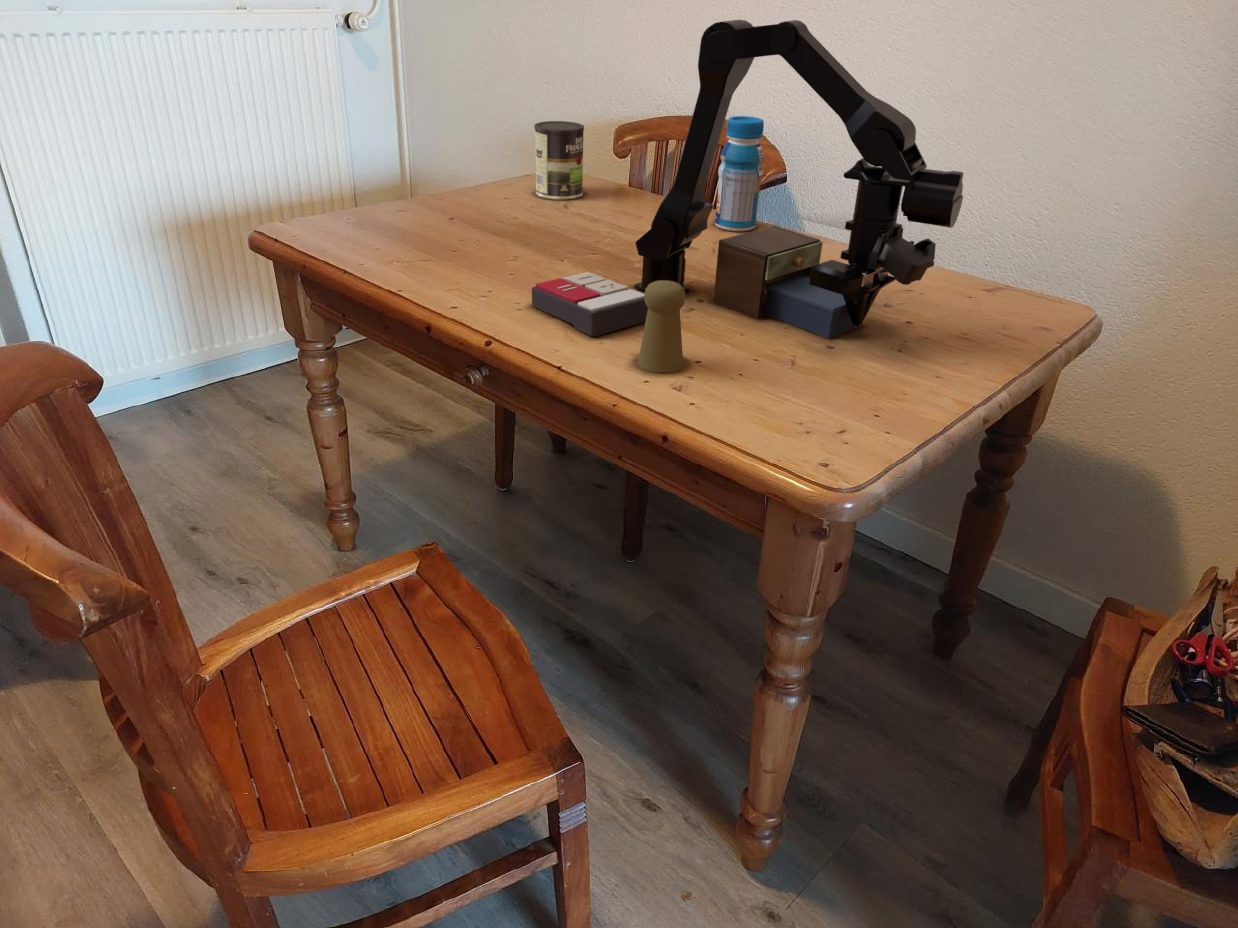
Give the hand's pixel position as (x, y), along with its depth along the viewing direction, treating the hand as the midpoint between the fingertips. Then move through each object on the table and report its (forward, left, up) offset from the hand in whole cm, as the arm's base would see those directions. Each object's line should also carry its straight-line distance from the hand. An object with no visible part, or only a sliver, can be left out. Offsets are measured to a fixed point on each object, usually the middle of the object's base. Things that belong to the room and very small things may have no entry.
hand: (856, 325), depth 125 cm
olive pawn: (-29, +11, -2) cm, 31 cm away
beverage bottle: (+28, +48, -2) cm, 55 cm away
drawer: (0, +16, +4) cm, 17 cm away
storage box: (0, +8, -2) cm, 8 cm away
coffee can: (+15, +87, -2) cm, 88 cm away
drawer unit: (0, +17, -2) cm, 17 cm away
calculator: (-25, +30, -2) cm, 39 cm away
